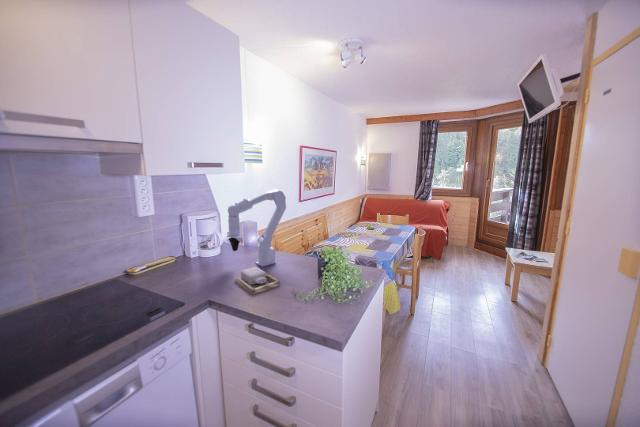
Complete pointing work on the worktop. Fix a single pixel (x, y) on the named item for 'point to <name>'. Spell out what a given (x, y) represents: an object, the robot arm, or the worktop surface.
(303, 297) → the worktop surface
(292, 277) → the worktop surface
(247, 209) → the robot arm
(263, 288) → the frame
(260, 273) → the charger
